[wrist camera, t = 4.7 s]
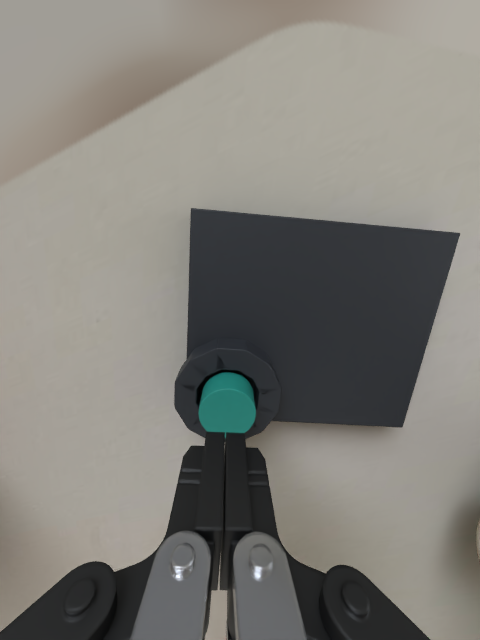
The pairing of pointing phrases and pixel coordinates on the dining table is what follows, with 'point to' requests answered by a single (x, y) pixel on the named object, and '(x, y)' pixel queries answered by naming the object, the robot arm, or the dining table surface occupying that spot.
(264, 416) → the dark grey flat block
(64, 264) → the dining table surface
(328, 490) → the dining table surface
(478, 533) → the vase
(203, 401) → the button
